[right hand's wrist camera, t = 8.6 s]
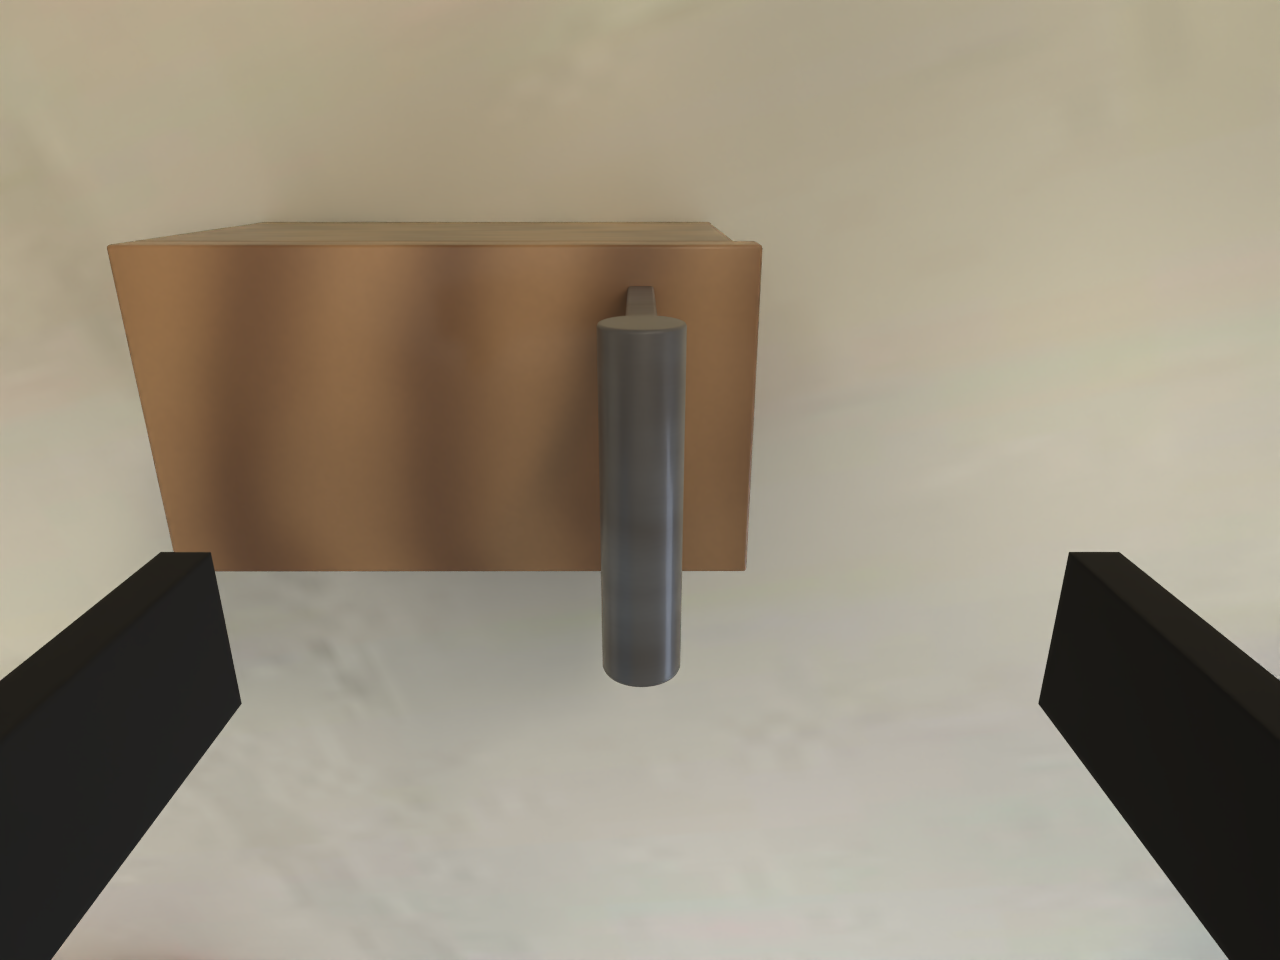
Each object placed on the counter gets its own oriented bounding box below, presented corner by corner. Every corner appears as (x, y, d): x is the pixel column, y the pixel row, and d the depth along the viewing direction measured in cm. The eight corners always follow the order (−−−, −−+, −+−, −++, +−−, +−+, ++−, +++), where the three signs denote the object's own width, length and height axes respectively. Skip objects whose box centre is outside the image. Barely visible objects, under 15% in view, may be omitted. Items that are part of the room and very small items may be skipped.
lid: (756, 240, 23) (820, 279, 15) (741, 554, 26) (787, 723, 18) (130, 241, 23) (-141, 279, 15) (196, 555, 26) (4, 723, 18)
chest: (709, 222, 31) (734, 241, 23) (703, 464, 34) (722, 554, 26) (263, 222, 31) (131, 240, 23) (300, 464, 34) (197, 554, 26)
